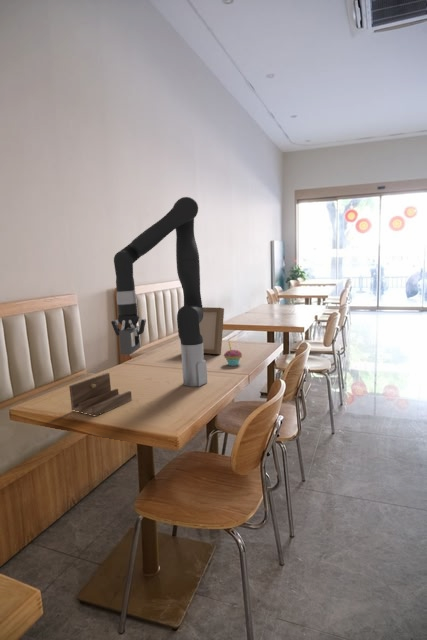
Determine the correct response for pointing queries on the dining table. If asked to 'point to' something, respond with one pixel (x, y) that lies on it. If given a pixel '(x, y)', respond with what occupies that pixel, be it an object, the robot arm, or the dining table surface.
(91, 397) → the picture ledge
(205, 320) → the photo frame
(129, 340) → the mini frame
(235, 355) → the cupcake
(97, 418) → the dining table surface
